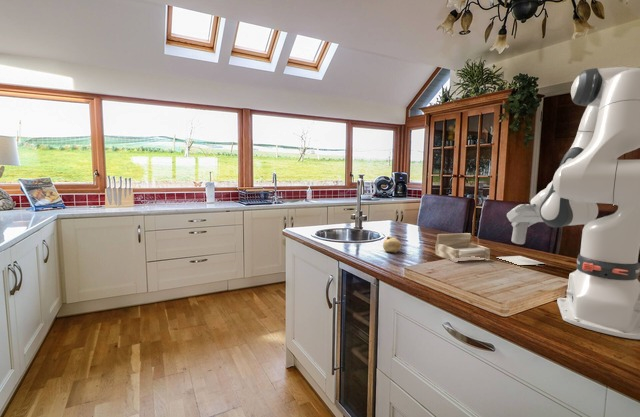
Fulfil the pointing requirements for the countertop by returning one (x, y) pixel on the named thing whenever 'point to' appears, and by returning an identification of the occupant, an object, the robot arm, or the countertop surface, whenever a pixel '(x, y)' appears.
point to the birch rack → (455, 245)
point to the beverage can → (519, 233)
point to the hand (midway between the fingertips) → (519, 225)
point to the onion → (392, 245)
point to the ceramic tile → (520, 260)
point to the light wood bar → (471, 252)
